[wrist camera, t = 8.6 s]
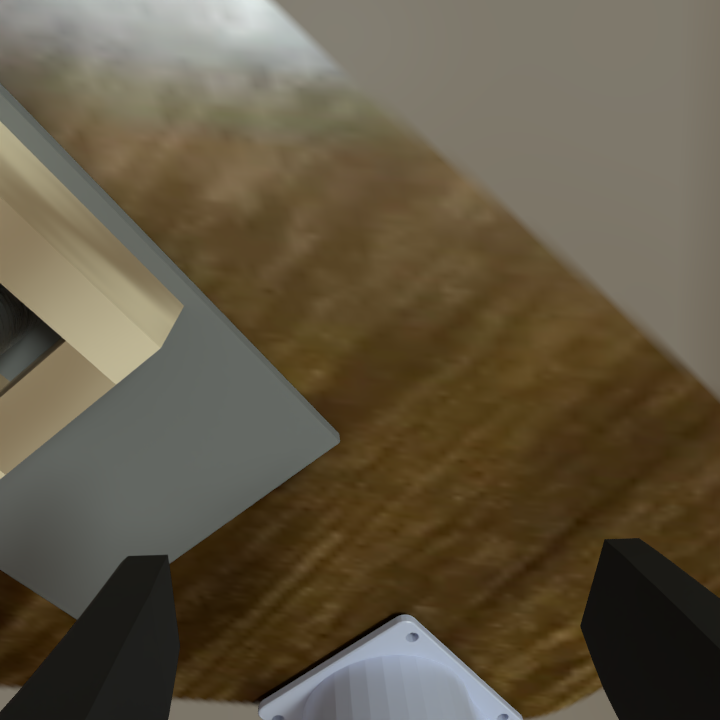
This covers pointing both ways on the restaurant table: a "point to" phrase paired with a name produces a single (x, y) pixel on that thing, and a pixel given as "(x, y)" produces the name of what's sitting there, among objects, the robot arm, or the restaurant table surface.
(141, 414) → the charcoal mat
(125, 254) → the birch square frame
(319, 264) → the restaurant table surface
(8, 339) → the metal pin
